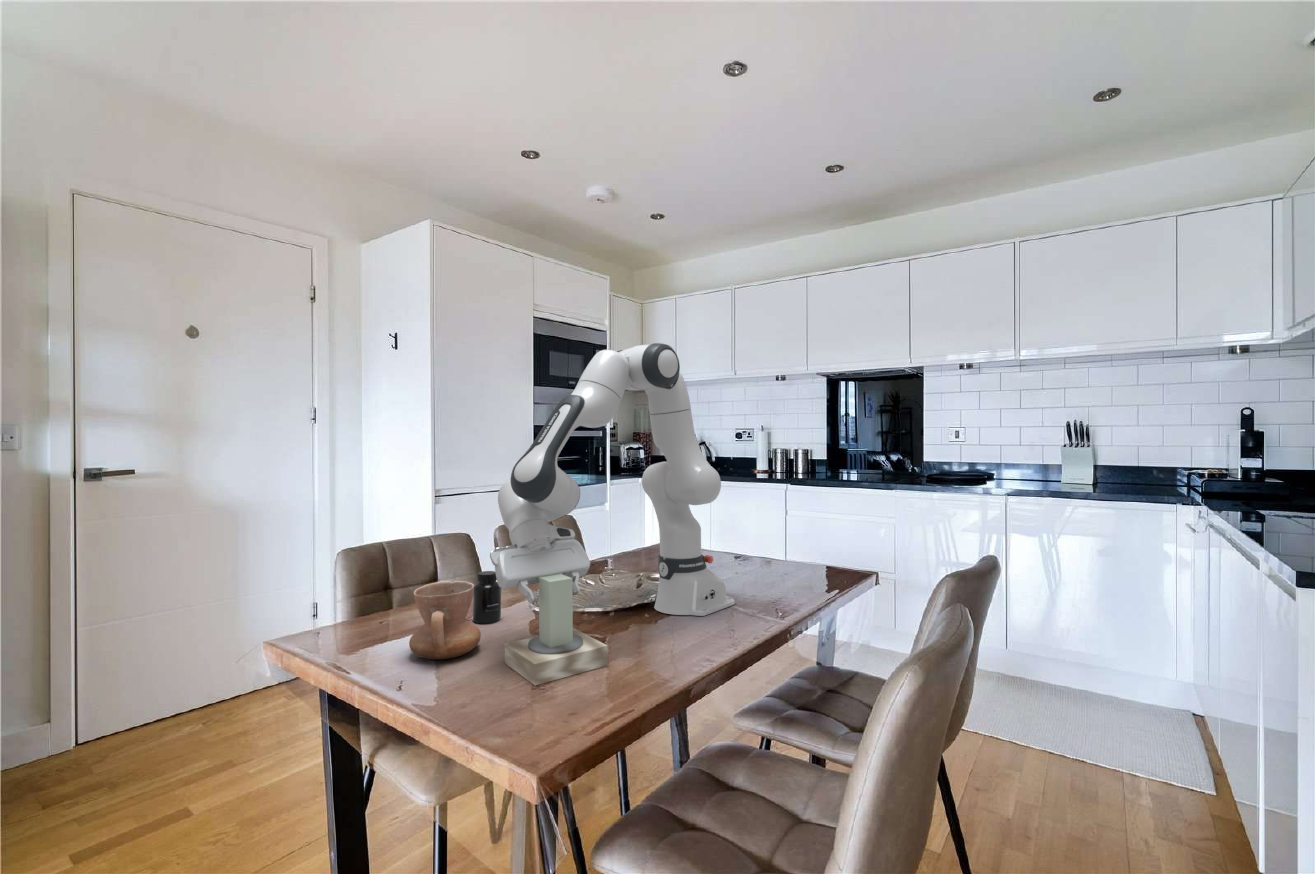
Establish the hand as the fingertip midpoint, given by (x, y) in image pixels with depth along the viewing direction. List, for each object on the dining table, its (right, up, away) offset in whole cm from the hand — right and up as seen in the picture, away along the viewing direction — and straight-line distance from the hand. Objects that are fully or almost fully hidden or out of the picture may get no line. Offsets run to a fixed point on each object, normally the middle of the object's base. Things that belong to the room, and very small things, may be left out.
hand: (555, 597), depth 124 cm
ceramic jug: (-25, -14, +6) cm, 29 cm away
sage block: (0, -9, 0) cm, 9 cm away
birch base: (0, -14, 0) cm, 14 cm away
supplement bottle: (-22, -14, +30) cm, 39 cm away
